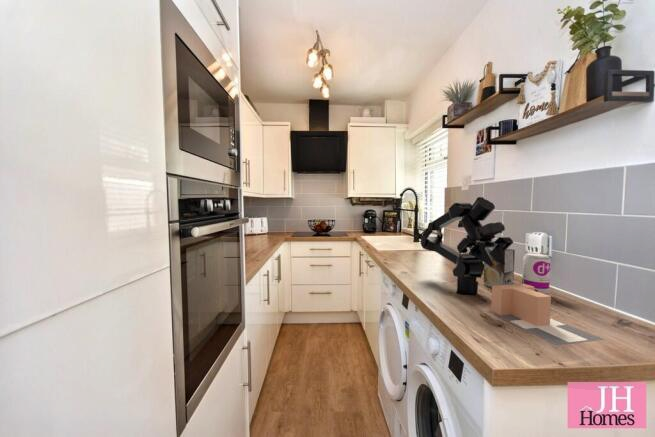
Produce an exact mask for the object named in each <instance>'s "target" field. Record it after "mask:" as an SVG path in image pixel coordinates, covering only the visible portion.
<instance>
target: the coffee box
mask: <svg viewBox="0 0 655 437" xmlns="http://www.w3.org/2000/svg"><path fill="white" fill-rule="evenodd" d="M485 250H486V252H487V254H488V256H489V257H490V259H491V261H492V263H493V266H489V265H487V264H486V263H484V262H483V264H484V271H483V285H484V286H486V287H490V288H492V286H497V285H514V283H515V281H514V279H515V277H514V276H515V255H516V254H515V249H512V248H511V249H510V248H507V249H506V250H505V251H503V256H504V261H505V265H504V266H502V265H501V264H499V263H498V262H497V261H496V260H495V259H494V258H493V257H492V256H491V255H490V254H489V253H490V252H491V250H490V249H489V248H485Z"/></svg>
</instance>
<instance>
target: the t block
mask: <svg viewBox="0 0 655 437" xmlns="http://www.w3.org/2000/svg"><path fill="white" fill-rule="evenodd" d="M534 290H535V287H533V286H529V285H526V284H522V283H520V284H519V283H517V284H514V285H497V286H492V287H491V308H490V310H491V311H492V312H494V313H496V314H498V315H513V316H515V317H518V318H520V319H522V320H524V321H526V322H529V323H531V324H533V325H535V326H542V325H550V318H551V309H552V307H551V306H552V296H551V295H550V294H549V295H546V294H543V293H539V292H536V291H534Z"/></svg>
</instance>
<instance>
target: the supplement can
mask: <svg viewBox="0 0 655 437" xmlns="http://www.w3.org/2000/svg"><path fill="white" fill-rule="evenodd" d="M551 260H552V259H551V258H550V256H549V255H548V254H544V253H537V252H536V253H535V252H529V253H527V252H526V253H525V254H524V256H523V259H522V276H521V277H522V279H521V280H522V281H521V284H526V285H529V286H533V287H535V290H534V291H536V292H539V293H543V294H546V295H549V296H550V279H551Z"/></svg>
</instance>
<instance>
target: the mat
mask: <svg viewBox="0 0 655 437" xmlns="http://www.w3.org/2000/svg"><path fill="white" fill-rule="evenodd" d="M485 311H486V312H487V313H489V314H492V315H494V316H496V317H497V318H500V319H501V320H504V321H506V322H508V323H510V324H512V325H514V326H517V328H520V329H522V330H525V331H526V332H529V333H530V334H532V335H535V336H536V337H539V338H540V339H542V340H545V341H546V342H549V343H551V344H553V345H555V346H562V345H569V344H577V343H578V344H579V343H585V342H586V343H587V342H595V341H601V340H604V341H605V338H602V337H601V336H598V335H596V334H595V335H594V334H592V333H590V332H587V331H585V330H582V329H581V328H578V327H575V326H572V325H570V324H567V323H565V322H562V321H560V320H557V319H555V318H552V317H550V325H542V326H535V325H533V324H531V323H529V322H526V321H524V320H522V319H520V318H518V317H515V316H513V315H498V314H496V313H494V312H492V311H491V309H490V310H489V309H488V310H485Z"/></svg>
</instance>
